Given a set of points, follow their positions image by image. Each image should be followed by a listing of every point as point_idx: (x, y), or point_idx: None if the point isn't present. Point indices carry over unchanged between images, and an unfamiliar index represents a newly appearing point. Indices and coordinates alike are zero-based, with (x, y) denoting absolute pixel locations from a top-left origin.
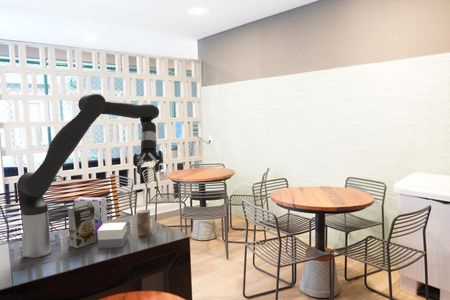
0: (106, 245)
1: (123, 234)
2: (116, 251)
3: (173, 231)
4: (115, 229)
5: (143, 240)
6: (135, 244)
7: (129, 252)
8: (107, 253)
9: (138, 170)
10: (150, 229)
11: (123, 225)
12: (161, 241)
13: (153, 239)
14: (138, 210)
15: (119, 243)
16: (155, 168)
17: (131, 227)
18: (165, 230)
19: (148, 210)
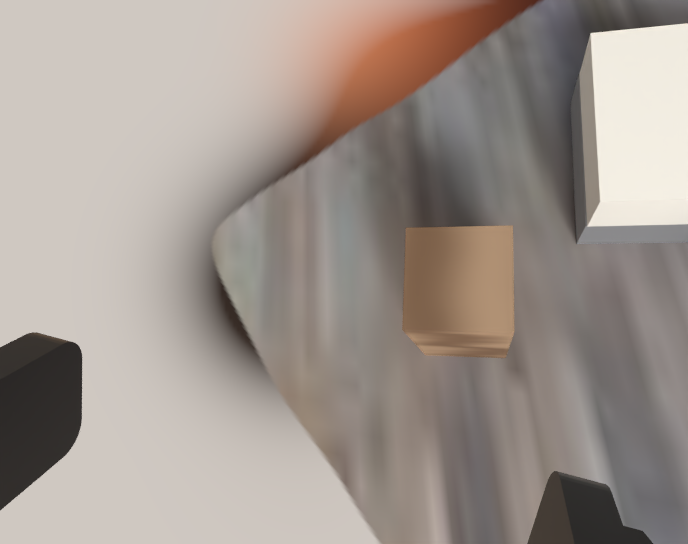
0: None
1: (583, 112)
2: None
3: (270, 341)
4: (642, 33)
5: (454, 197)
6: (494, 136)
7: (507, 26)
8: (638, 14)
9: (607, 536)
10: (423, 352)
11: (602, 122)
12: (341, 171)
13: (392, 208)
14: (513, 310)
15: None
16: (12, 360)
17: None
18: (322, 373)
19: (409, 293)
